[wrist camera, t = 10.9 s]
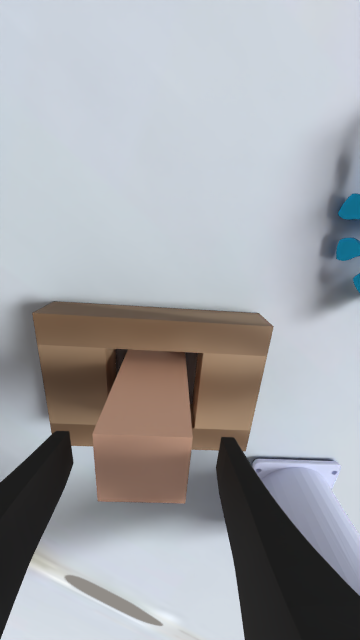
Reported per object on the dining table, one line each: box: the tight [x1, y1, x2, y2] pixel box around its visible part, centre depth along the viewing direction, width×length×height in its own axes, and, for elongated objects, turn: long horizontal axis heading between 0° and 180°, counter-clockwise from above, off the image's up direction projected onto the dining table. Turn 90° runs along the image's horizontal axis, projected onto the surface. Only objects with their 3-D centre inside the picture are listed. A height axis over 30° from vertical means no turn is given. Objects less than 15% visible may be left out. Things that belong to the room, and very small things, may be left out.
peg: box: [92, 349, 193, 503], centre depth 14 cm, size 4×4×8 cm
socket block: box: [32, 301, 274, 451], centre depth 16 cm, size 10×14×2 cm
